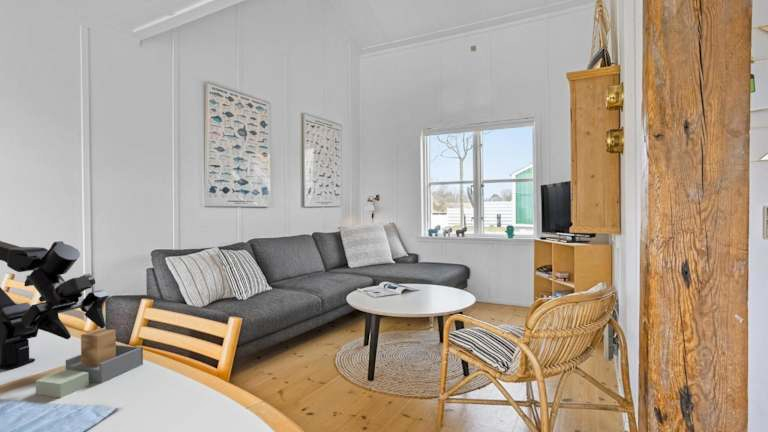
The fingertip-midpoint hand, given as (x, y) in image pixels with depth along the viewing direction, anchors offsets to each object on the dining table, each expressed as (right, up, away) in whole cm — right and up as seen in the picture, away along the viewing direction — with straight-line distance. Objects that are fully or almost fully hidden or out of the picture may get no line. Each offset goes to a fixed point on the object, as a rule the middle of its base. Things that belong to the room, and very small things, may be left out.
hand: (87, 332), depth 102 cm
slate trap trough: (+4, -10, +1) cm, 11 cm away
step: (+1, -10, -9) cm, 14 cm away
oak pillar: (+3, -7, -1) cm, 8 cm away
